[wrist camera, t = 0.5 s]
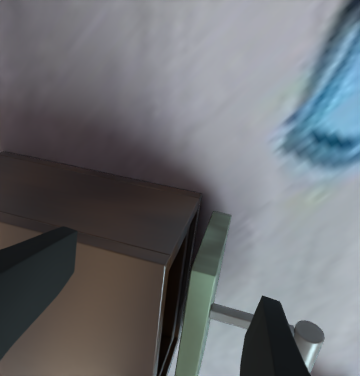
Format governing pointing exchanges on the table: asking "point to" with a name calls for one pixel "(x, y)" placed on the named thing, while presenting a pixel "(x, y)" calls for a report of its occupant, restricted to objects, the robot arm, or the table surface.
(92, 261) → the cabinet
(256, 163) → the table surface
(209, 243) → the drawer
